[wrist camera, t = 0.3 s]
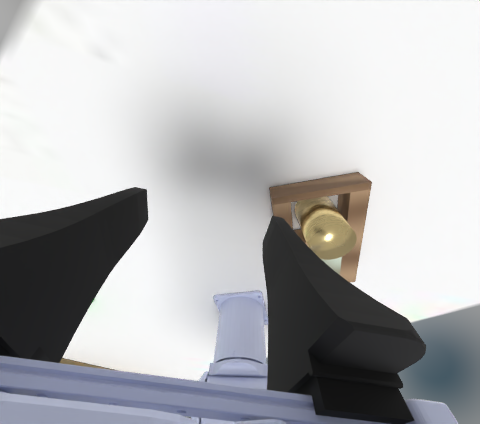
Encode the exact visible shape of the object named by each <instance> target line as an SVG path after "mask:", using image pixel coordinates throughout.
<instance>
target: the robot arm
mask: <svg viewBox="0 0 480 424" xmlns="http://www.w3.org/2000/svg"><path fill="white" fill-rule="evenodd" d="M147 221H148V206H147V190H146V189H141V188H137V187H134V188H130V189H126V190H123V191H120V192H117V193H113V194H110V195H107V196H104V197H101V198H98V199H94V200H91V201H87V202H84V203H80V204H77V205H73V206H69V207H65V208H61V209H56V210H51V211H47V212H42V213H36V214H30V215H24V216H18V217H12V218H5V219H0V424H459V423H458V422H457V421H456V419H455V417H454V416H453V414H452V413H451V411H450V409H449V408H448V406H447V405H446V404H444V403H442V402H435V401H428V400H420V399H406V400H404V399H403V397H402V395H401V393H400V391H399V389H398V388H403V383H402V381H401V379H400V378H399V376H398V374H397V373H398V372H400V371H402V370H404V369H405V368H407V367H409V366H411V365H412V364H414V363H416V362H417V361H418V360H420V359H421V358H422V357H423V355H424V354H425V351H426V345H425V344H424V342H423V341H422V339H421V338H420V336H419V335H418V333H417V332H416V330H415V329H414V328H413V326H412V325H411V323H410V322H409V320H408V319H407V318H405V317H403V316H402V315H400V314H398V313H397V312H395V311H393V310H392V309H390V308H388V307H386V306H385V305H383V304H381V303H380V302H378V301H376V300H375V299H373V298H372V297H370V296H369V295H367V294H366V293H364V292H363V291H361V290H360V289H358V288H357V287H355V286H354V285H352V284H351V283H350V282H348V281H347V280H346V279H344V278H343V277H342V276H340V275H339V274H338V273H337V272H335V271H334V270H333V269H332V268H330V267H329V266H328V265H327V264H326V263H325V262H324V261H322V260H321V259H320V258H319V257H318V256H317V255H316V254H315V253H314V252H313V251H312V250H311V249H310V248H309V247H308V246H307V245H306V244H305V243H304V242H303V240H302V239H301V238H300V237H299V236H298V235H297V234H296V232H295V231H294V230H293V229H292V228H291V226H290V225H289V224H288V223H287V222H286V221H285V220H284V219H283V218H282V217H277V216H272V219H271V221H270V224H269V227H268V229H267V232H266V235H265V237H264V240H263V264H264V272H265V280H266V287H267V297H268V316H267V312H266V308H265V304H264V300H263V296H262V292H261V291H252V292H242V293H232V294H221V295H215V296H214V298H213V299H214V301H215V303H216V305H217V307H218V309H219V312H220V316H219V324H218V332H217V339H216V347H215V355H214V363H210V368H209V372H204V374H203V375H202V377H201V378H200V379H199V381H194V380H186V379H178V378H171V377H163V376H155V375H147V374H140V373H132V372H124V371H116V370H108V369H101V368H93V367H85V366H77V365H70V364H62V363H60V361H61V359H62V357H63V355H64V353H65V351H66V349H67V347H68V345H69V343H70V341H71V339H72V337H73V335H74V334H75V332H76V330H77V328H78V326H79V324H80V323H81V321H82V319H83V317H84V315H85V314H86V312H87V310H88V308H89V307H90V305H91V303H92V301H93V300H94V298H95V296H96V295H97V293H98V291H99V290H100V288H101V286H102V285H103V283H104V282H105V280H106V279H107V277H108V275H109V274H110V272H111V271H112V270H113V268H114V267H115V265H116V264H117V263H118V262H119V260H120V259H121V258H122V257H123V255H124V254H125V253H126V251H127V250H128V249H129V248H130V246H131V245H132V244H133V243H134V241H135V240H136V239H137V237H138V236H139V235H140V233H141V232H142V230H143V228H144V227H145V225H146V223H147ZM266 324H268V365H267V364H266V350H265V335H264V325H266ZM184 416H190V417H192V418H191V419H189V418H187V417H184Z"/></svg>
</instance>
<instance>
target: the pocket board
mask: <svg viewBox="0 0 480 424" xmlns="http://www.w3.org/2000/svg"><path fill="white" fill-rule="evenodd" d="M371 184H372V182H371V181H370V180H368V179H367V178H366V177H364V176H363V175H361V174H360V173H359V172H356V173H350V174H345V175H339V176H333V177H327V178H322V179H316V180H310V181H304V182H299V183H293V184H287V185H282V186H276V187H270V188H269V189H270V196H271V203H272V210H273V216H277V217H282V218H283V219H284V220H285V221H286V222H287V223H288V224H289V225H290V226H291V228H292V229H293V225H292V213H291V202H295V201H301V200H308V199H314V198H320V197H326V196H333V195H339V196H338V211H339V212H340V214H341V215H342V216H343V217H344V219H345V220H346V221H347V223H348V224H349V225H350V227H351V228H352V229H353V230H354V232H355V233H356V237H357V241H356V244H355V246H354V248H353V249H352V250H351V251H350V252H349V253H347V254H346V255H344V256H342V257H340V258H336V259H331V260H324V259H321V260H322V261H324V262H325V263H326V264H327V265H328V266H329V267H330V268H332V269H333V270H334V271H335V272H337V273H338V274H339V275H340V276H342V277H343V278H344V279H346V280H347V281H348V282H355V279H356V274H357V268H358V262H359V256H360V250H361V244H362V238H363V232H364V226H365V220H366V214H367V208H368V202H369V196H370V190H371ZM294 231H295V232H296V234H297V235H298V236H299V237H300V238H301V239H302V240H303V242H304V243H305V244H306V245H307V243H306V240H305V238H304V235H303V232H302V230H301V229H297V230H294ZM307 246H308V245H307Z"/></svg>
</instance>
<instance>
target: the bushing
mask: <svg viewBox="0 0 480 424" xmlns="http://www.w3.org/2000/svg"><path fill="white" fill-rule="evenodd" d="M295 214H296V217H297V220H298V222H299V225H300V227H301V230H302V232H303V235H304V238H305V240H306V243H307V245H308V247H309V248H310V249H311V250H312V251H313V252H314V253H315V254H316V255H317V256H318V257H319V258H320V259H324V260H331V259H336V258H340V257H342V256H344V255H346V254H347V253H349V252H350V251H351V250H352V249H353V248H354V246H355V244H356V241H357V237H356V233H355V232H354V230H353V229H352V228H351V227H350V225H349V224H348V223H347V221H346V220H345V219H344V217H343V216H342V215H341V214H340V212H339V211H338V210H337V208H336V207H335V206H334V204H333V203H332V202H331V200H330V199H329V198H328V197H327V196H326V197H320V198H314V199H308V200H301V201H298V202H297V203H296V205H295Z"/></svg>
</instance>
